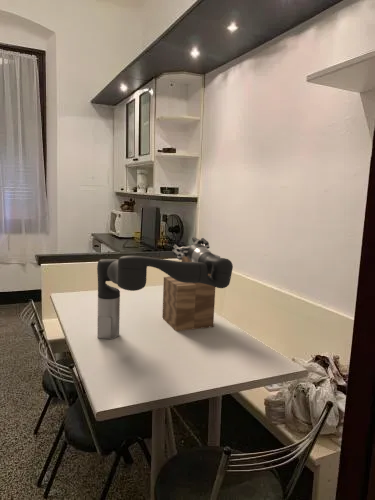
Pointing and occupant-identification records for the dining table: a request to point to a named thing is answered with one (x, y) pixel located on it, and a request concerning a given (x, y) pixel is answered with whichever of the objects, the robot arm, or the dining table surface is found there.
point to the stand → (188, 304)
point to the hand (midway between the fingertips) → (184, 243)
